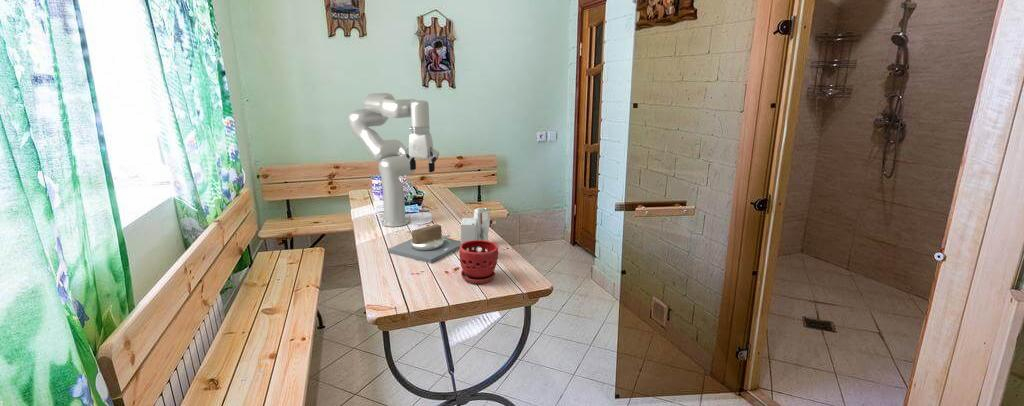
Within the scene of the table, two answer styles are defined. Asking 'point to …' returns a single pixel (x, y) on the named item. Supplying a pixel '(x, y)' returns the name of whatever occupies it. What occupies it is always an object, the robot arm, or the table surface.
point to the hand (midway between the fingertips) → (422, 170)
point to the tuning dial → (428, 238)
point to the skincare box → (469, 230)
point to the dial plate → (429, 255)
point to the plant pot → (478, 261)
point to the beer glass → (482, 222)
